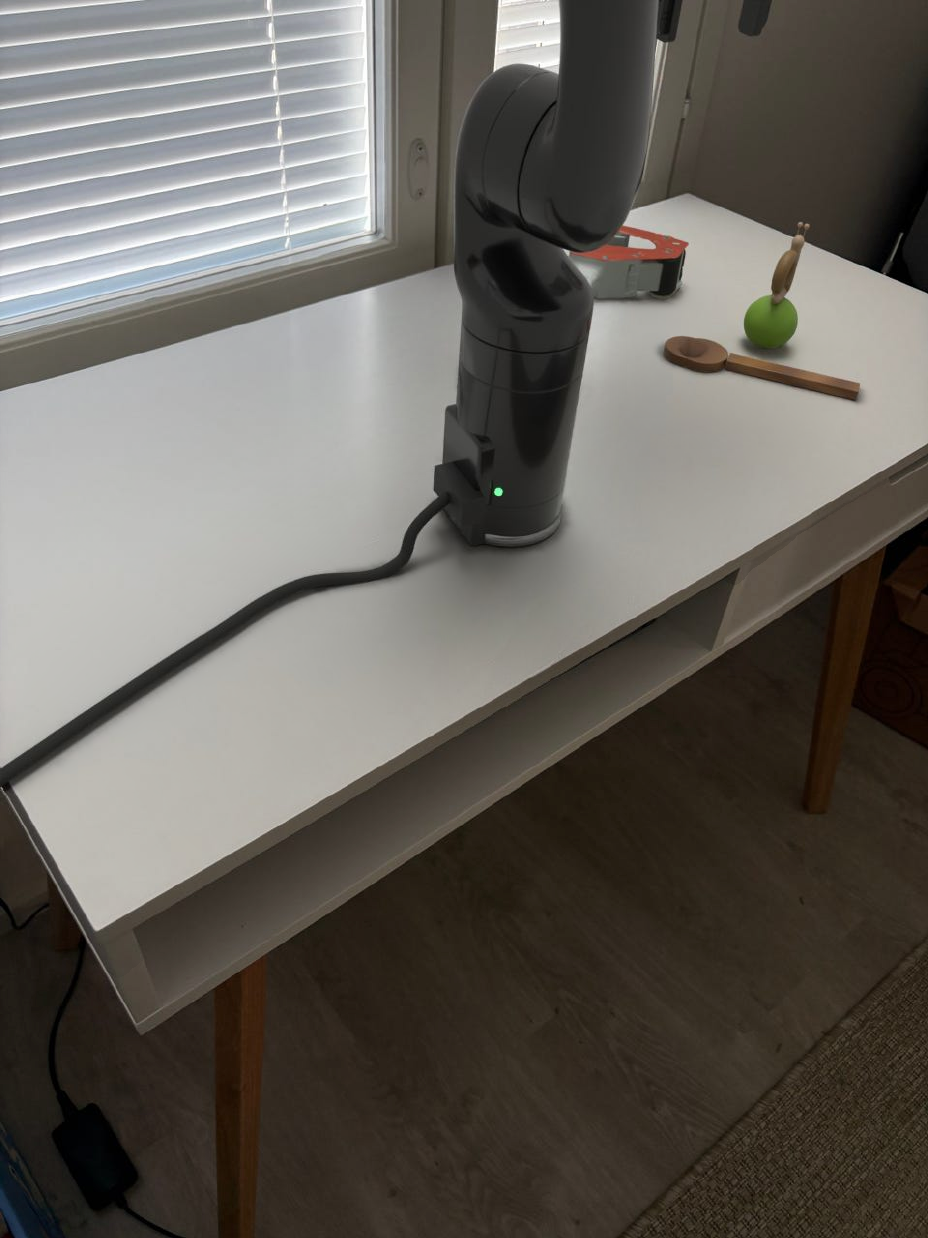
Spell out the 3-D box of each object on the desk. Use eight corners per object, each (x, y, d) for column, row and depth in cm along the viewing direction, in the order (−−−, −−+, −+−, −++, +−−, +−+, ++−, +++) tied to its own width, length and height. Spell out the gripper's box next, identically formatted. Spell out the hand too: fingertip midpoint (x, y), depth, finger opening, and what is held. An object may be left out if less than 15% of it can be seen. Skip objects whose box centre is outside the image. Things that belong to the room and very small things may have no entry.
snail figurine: (797, 337, 109) (831, 228, 101) (782, 363, 105) (817, 251, 97) (748, 324, 111) (778, 215, 103) (731, 348, 107) (762, 237, 98)
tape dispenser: (537, 347, 107) (711, 322, 111) (540, 301, 103) (720, 278, 107) (492, 265, 119) (651, 245, 122) (493, 221, 115) (658, 202, 118)
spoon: (858, 383, 103) (861, 374, 102) (854, 408, 99) (857, 399, 99) (669, 339, 107) (671, 330, 107) (658, 361, 104) (660, 352, 103)
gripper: (709, -219, 66) (660, 56, 77) (873, -214, 71) (805, 44, 82) (645, -233, 70) (607, 29, 82) (803, -227, 75) (747, 19, 87)
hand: (706, 36), depth 82 cm, fingers open, 8 cm apart
